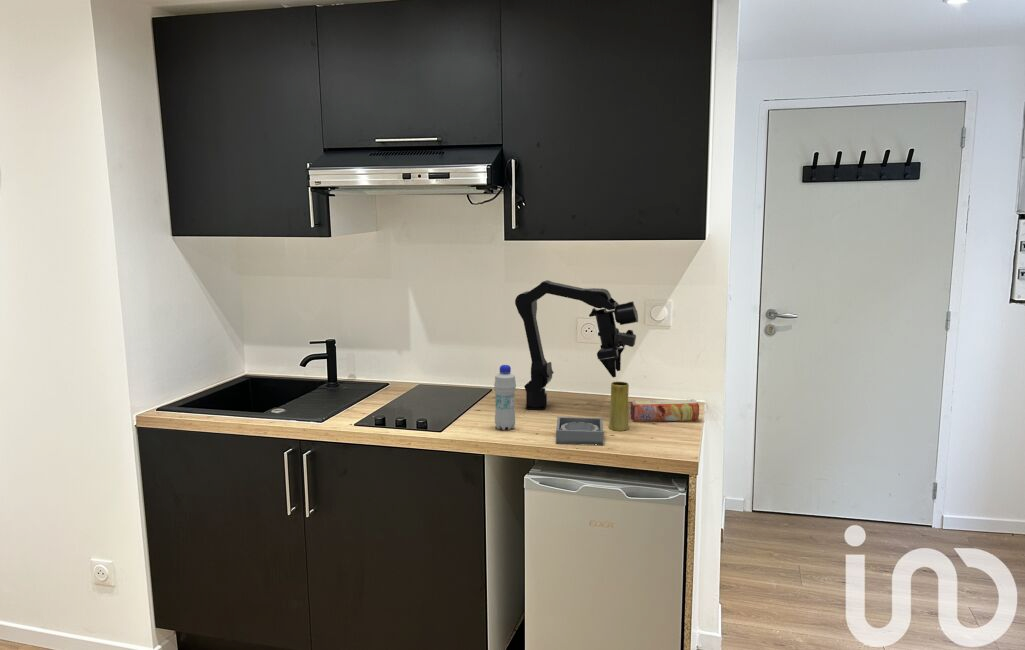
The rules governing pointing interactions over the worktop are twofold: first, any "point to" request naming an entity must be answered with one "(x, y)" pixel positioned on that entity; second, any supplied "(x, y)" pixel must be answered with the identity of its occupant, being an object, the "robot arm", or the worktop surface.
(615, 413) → the vase
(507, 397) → the bottle
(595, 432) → the tray
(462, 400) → the worktop surface
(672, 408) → the snack package
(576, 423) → the collar
